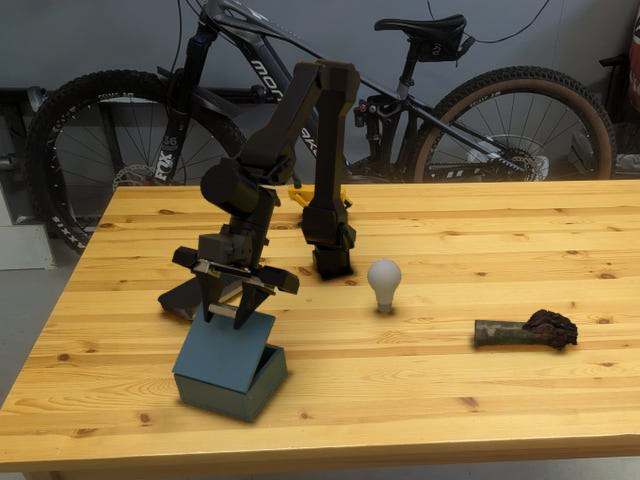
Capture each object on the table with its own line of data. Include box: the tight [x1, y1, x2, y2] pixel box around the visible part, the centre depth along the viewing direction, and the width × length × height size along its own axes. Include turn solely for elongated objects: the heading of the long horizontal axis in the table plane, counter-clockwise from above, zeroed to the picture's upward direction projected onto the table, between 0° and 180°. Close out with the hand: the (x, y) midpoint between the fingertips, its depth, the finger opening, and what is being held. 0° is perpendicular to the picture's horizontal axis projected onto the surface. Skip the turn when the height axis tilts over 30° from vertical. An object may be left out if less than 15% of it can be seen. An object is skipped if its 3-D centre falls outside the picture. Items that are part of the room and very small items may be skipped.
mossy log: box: [473, 308, 579, 352], centre depth 115 cm, size 18×7×6 cm, turn 87°
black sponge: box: [157, 265, 250, 321], centre depth 124 cm, size 16×8×4 cm, turn 143°
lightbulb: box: [366, 258, 402, 314], centre depth 119 cm, size 6×6×11 cm
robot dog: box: [286, 169, 354, 227], centre depth 143 cm, size 6×18×13 cm, turn 84°
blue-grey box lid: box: [171, 301, 277, 393], centre depth 99 cm, size 12×13×5 cm
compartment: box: [173, 342, 289, 423], centre depth 105 cm, size 12×13×6 cm
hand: (221, 326), depth 98 cm, fingers closed on blue-grey box lid, 5 cm apart
